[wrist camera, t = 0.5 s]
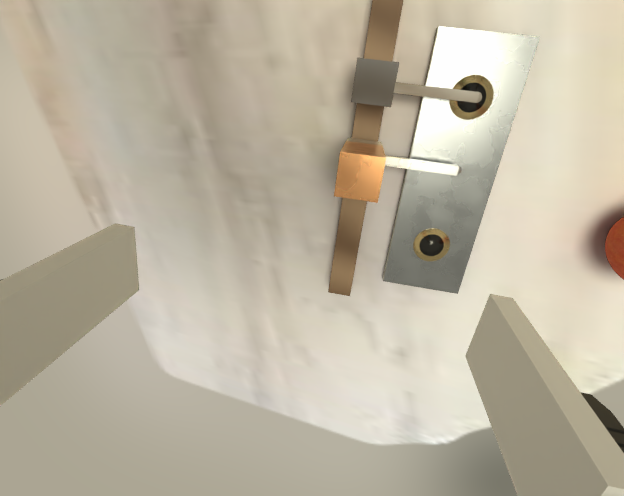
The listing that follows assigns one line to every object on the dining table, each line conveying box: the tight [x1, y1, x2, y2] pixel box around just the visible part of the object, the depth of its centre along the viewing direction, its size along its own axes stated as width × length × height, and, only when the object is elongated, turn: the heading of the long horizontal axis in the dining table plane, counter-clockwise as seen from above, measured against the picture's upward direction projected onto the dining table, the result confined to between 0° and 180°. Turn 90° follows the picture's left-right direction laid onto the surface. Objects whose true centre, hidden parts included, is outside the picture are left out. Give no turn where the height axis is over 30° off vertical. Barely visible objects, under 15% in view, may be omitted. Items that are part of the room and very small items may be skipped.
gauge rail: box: [328, 0, 482, 296], centre depth 32 cm, size 28×10×7 cm, turn 174°
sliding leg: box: [334, 138, 462, 203], centre depth 28 cm, size 3×10×11 cm, turn 84°
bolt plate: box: [383, 26, 540, 294], centre depth 34 cm, size 24×8×1 cm, turn 174°
